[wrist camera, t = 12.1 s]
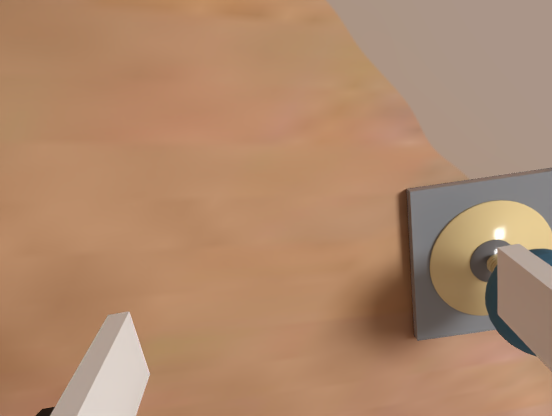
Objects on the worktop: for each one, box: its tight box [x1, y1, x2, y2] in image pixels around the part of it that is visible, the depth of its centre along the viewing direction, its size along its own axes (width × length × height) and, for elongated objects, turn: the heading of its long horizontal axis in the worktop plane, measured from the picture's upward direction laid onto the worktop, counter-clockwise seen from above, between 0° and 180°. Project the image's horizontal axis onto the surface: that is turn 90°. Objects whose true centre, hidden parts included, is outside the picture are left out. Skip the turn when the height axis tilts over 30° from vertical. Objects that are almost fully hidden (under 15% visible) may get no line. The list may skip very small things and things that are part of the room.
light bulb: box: [485, 249, 552, 356], centre depth 36 cm, size 8×8×12 cm
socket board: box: [407, 168, 552, 341], centre depth 42 cm, size 16×15×2 cm
